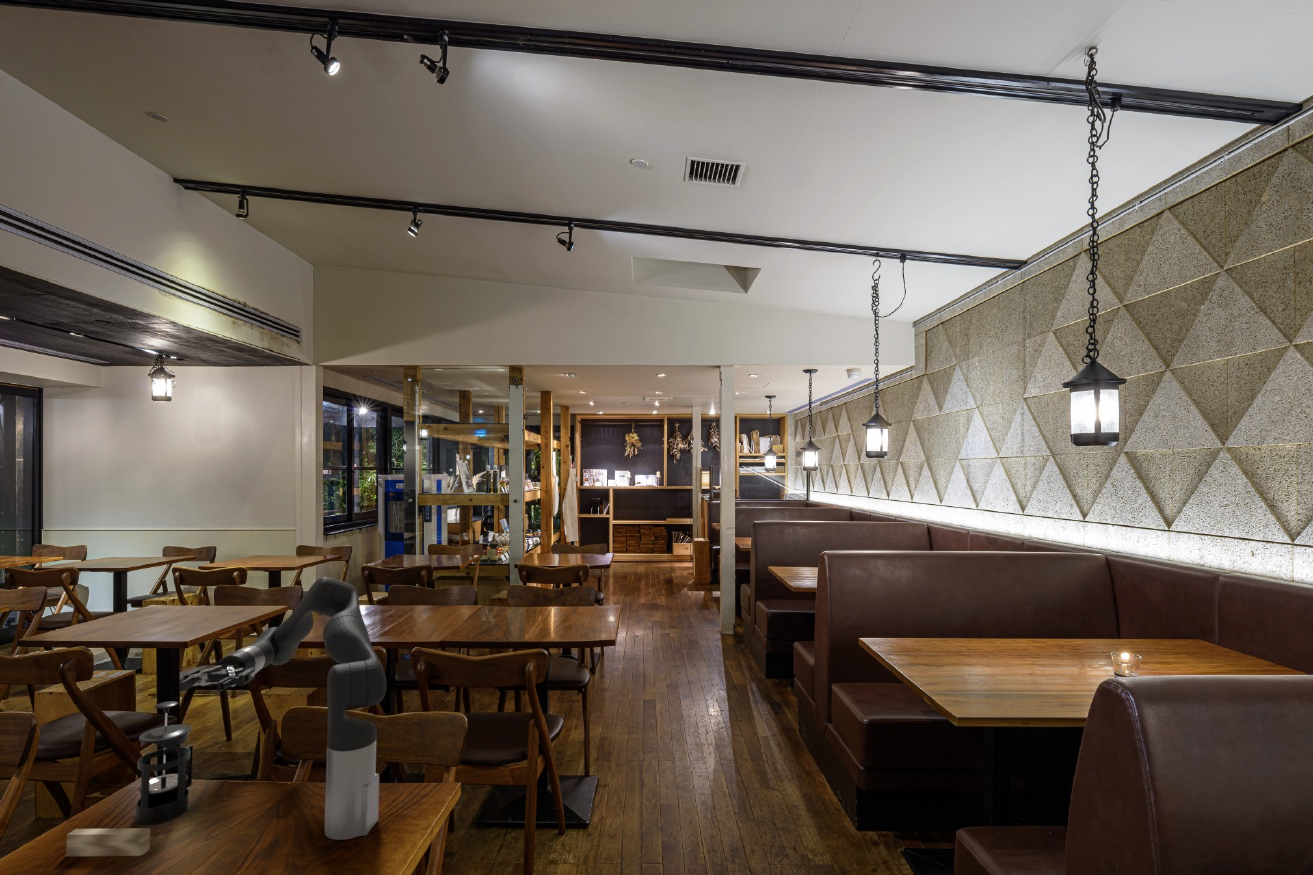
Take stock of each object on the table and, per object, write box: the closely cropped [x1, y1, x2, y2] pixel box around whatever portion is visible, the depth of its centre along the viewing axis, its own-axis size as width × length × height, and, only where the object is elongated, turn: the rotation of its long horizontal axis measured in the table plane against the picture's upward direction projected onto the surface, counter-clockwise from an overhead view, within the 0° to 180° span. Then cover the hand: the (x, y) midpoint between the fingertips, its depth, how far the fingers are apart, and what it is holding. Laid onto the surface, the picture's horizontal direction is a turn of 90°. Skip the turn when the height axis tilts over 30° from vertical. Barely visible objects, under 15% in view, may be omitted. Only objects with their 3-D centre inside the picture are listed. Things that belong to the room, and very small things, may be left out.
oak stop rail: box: [65, 827, 151, 857], centre depth 126 cm, size 14×2×4 cm, turn 92°
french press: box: [133, 700, 194, 826], centre depth 142 cm, size 12×9×23 cm
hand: (200, 687), depth 153 cm, fingers open, 8 cm apart
